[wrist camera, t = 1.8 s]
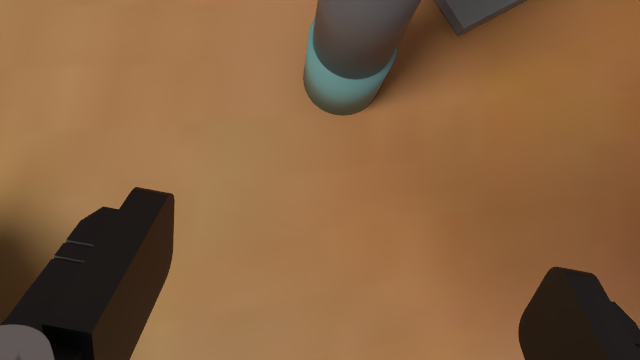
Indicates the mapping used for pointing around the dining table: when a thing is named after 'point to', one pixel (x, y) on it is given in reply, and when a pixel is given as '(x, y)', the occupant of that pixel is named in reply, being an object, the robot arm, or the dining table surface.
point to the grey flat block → (473, 12)
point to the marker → (353, 51)
